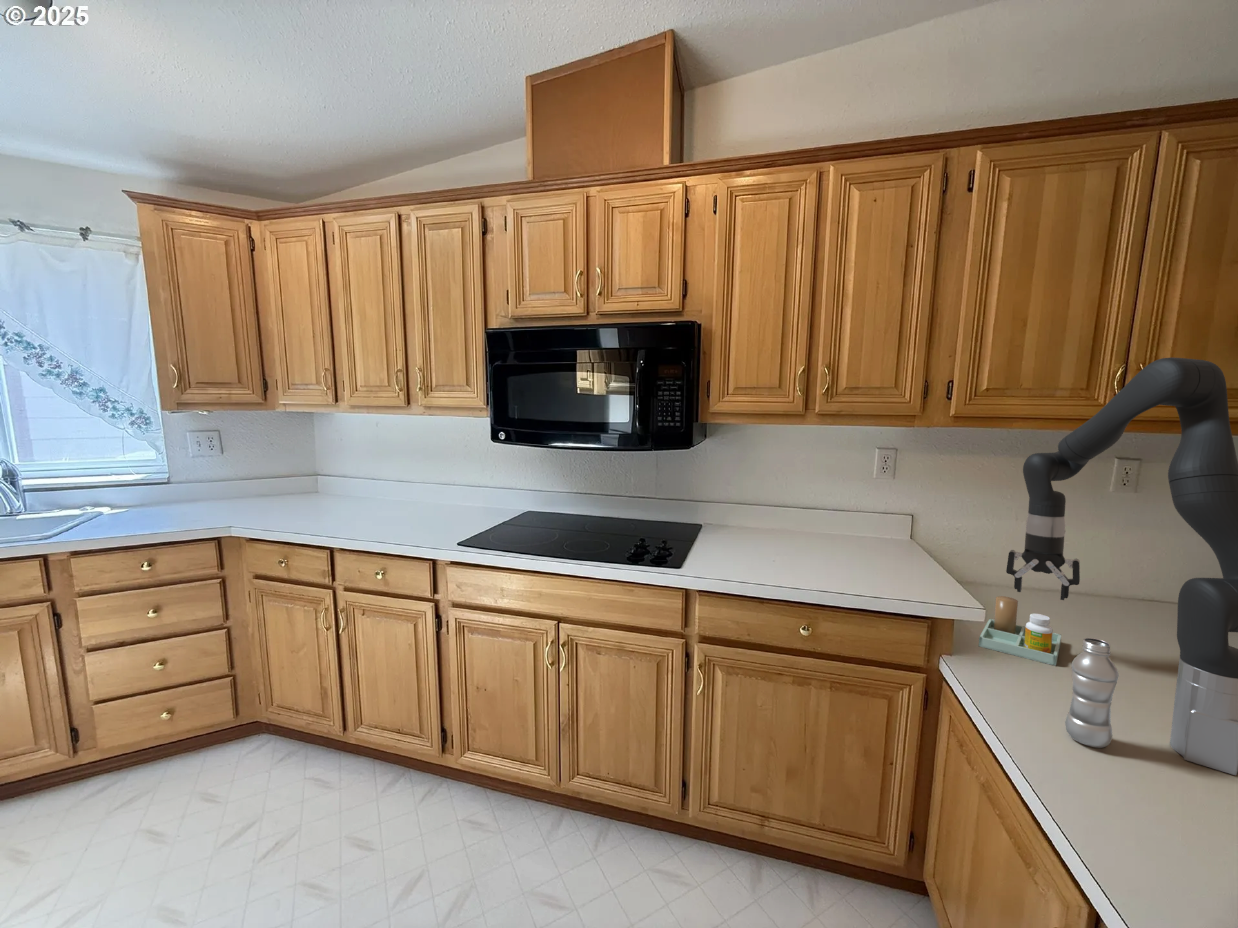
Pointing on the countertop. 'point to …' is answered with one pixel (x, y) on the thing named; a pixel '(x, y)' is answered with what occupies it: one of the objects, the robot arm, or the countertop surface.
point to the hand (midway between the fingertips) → (1040, 595)
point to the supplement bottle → (1038, 633)
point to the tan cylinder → (1005, 614)
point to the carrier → (1017, 644)
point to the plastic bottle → (1092, 695)
